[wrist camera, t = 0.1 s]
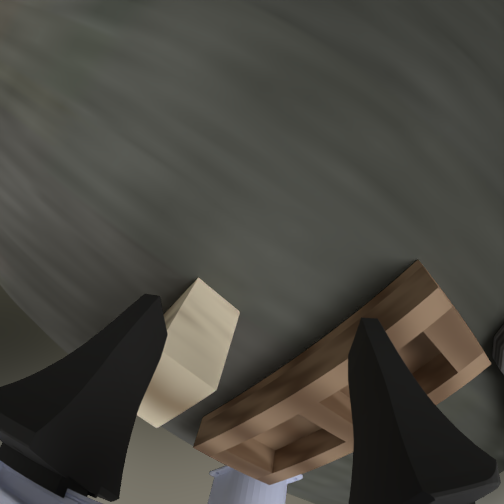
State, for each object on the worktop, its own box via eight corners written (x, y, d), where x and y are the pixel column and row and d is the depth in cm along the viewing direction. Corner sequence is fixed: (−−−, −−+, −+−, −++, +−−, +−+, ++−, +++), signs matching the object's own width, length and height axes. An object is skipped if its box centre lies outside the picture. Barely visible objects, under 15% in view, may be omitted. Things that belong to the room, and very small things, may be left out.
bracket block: (187, 356, 26) (156, 428, 19) (150, 328, 26) (109, 394, 18) (240, 311, 24) (216, 390, 16) (198, 277, 23) (157, 347, 16)
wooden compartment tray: (272, 456, 31) (269, 485, 28) (202, 417, 29) (193, 447, 26) (473, 334, 22) (491, 363, 18) (418, 259, 20) (438, 287, 17)
